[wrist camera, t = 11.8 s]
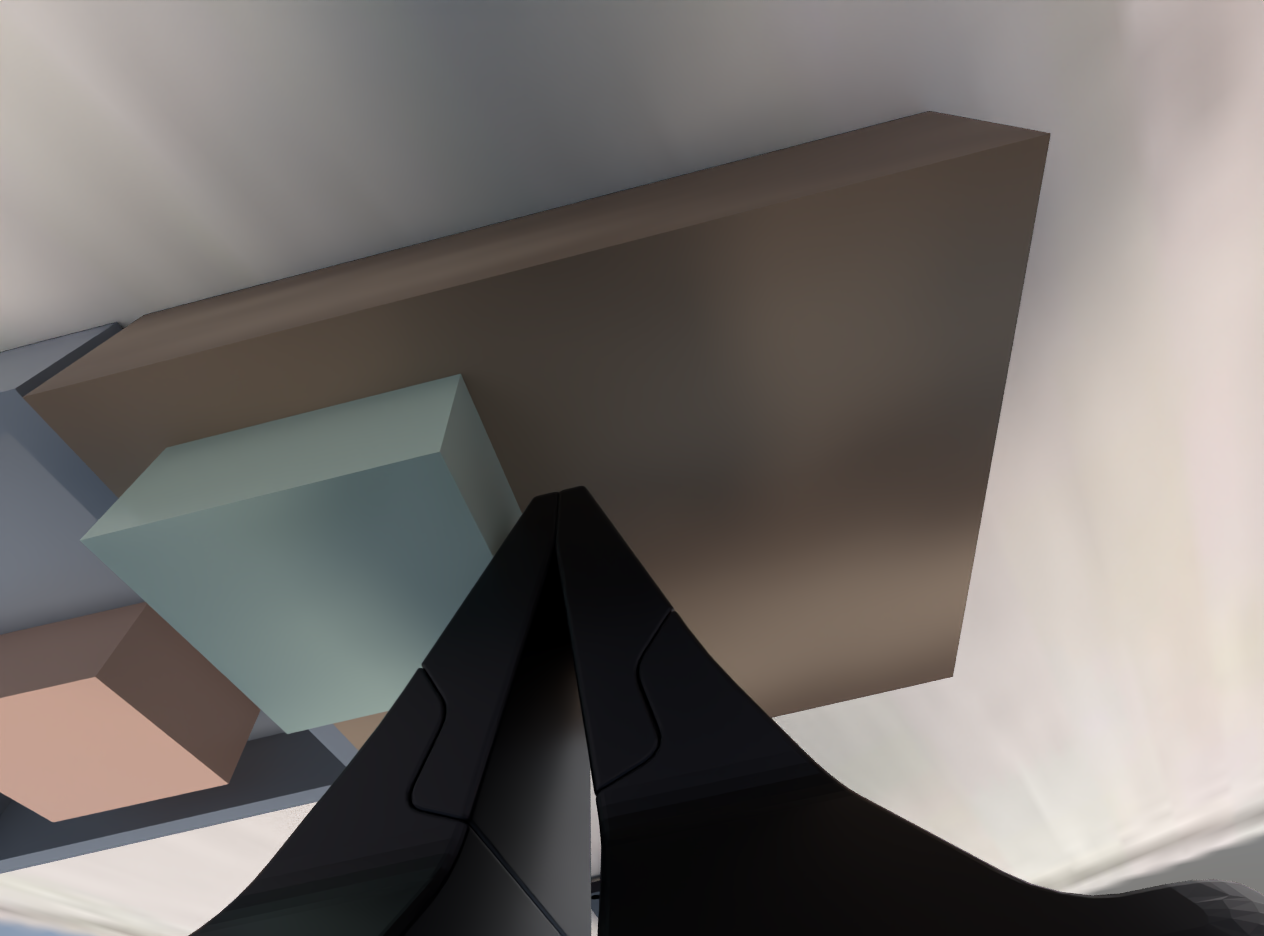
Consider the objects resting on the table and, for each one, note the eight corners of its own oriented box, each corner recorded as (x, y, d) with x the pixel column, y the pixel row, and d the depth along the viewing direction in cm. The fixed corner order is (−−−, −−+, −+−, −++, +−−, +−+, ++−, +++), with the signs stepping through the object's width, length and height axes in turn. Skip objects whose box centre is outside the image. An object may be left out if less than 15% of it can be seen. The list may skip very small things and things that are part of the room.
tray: (409, 699, 18) (391, 784, 16) (27, 788, 18) (-39, 882, 16) (116, 322, 11) (14, 388, 9) (-499, 482, 11) (-736, 581, 9)
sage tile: (552, 582, 11) (551, 673, 10) (324, 635, 11) (288, 734, 10) (460, 373, 9) (439, 450, 7) (166, 447, 9) (79, 539, 7)
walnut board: (895, 586, 17) (952, 676, 15) (425, 695, 18) (405, 800, 15) (929, 111, 10) (1050, 132, 8) (143, 315, 11) (22, 397, 8)
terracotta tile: (53, 822, 15) (102, 744, 16) (228, 783, 15) (260, 709, 16) (-118, 724, 12) (-40, 643, 14) (95, 676, 12) (149, 600, 14)
